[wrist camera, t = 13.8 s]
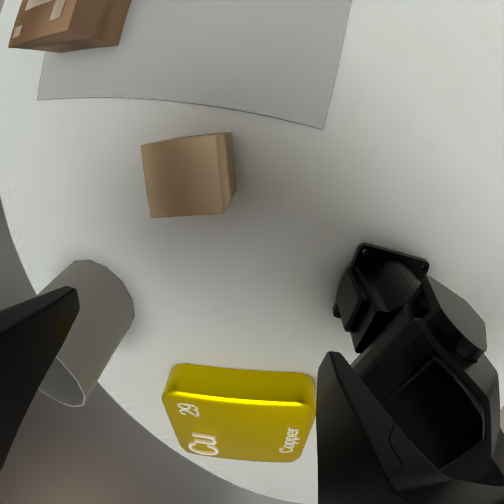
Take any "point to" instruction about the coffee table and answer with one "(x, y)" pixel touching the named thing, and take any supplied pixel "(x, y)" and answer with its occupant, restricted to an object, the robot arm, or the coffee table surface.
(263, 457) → the element tile
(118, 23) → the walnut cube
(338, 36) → the rubber mat
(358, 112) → the coffee table surface
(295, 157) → the coffee table surface
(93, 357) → the cup
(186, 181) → the oak block
